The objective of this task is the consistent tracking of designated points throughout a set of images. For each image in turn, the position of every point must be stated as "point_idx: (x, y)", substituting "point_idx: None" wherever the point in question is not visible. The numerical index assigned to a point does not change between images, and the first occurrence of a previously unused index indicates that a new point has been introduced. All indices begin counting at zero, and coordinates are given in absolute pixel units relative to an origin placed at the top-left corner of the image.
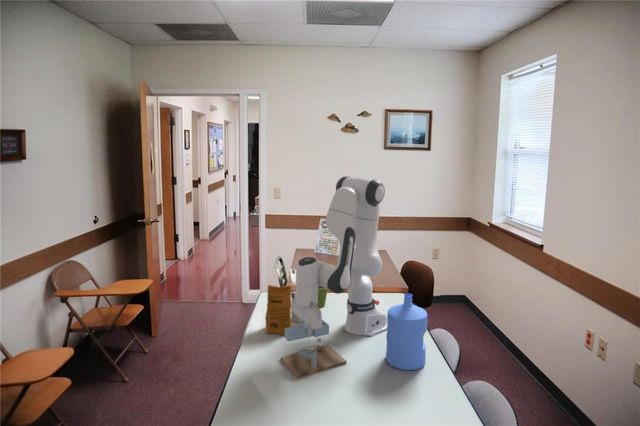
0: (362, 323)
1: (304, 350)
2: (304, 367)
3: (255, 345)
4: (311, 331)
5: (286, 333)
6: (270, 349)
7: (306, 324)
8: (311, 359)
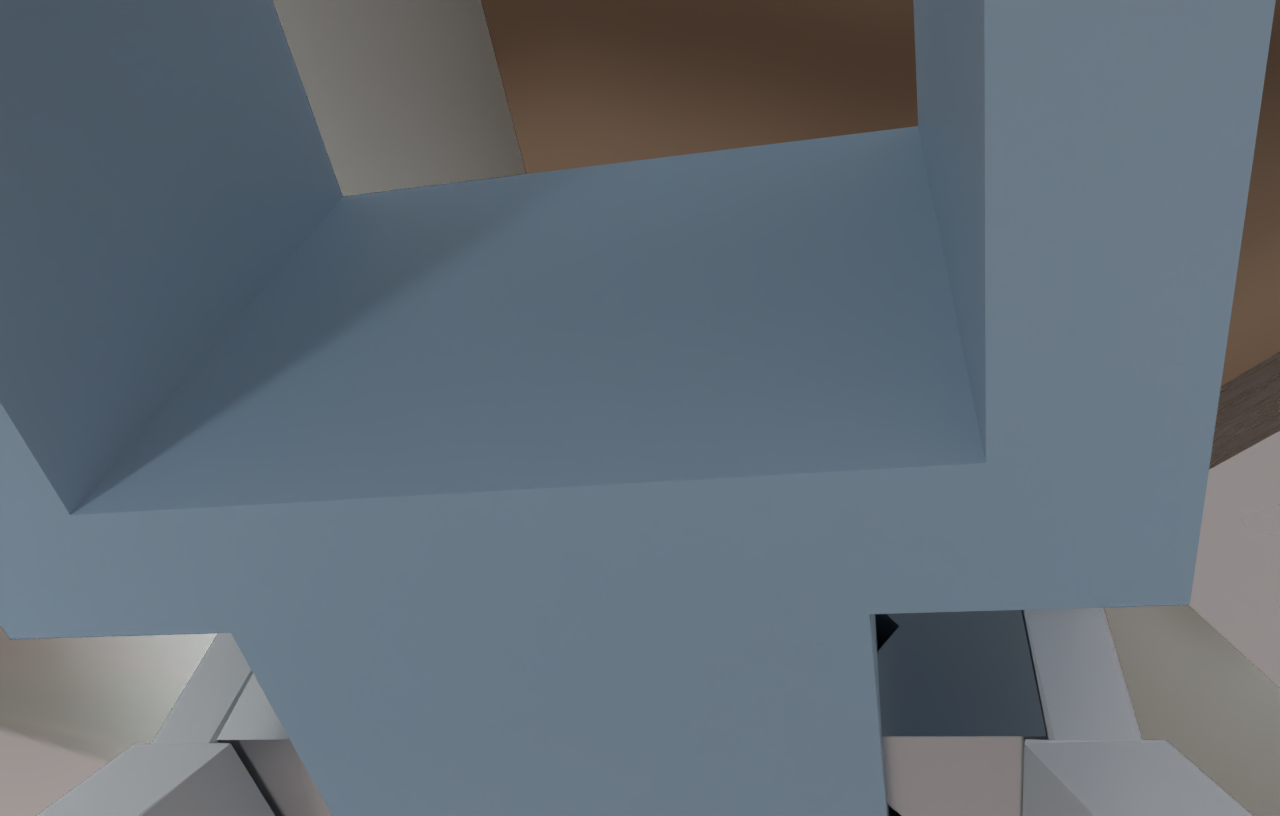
0: None
1: (1218, 535)
2: (1232, 329)
3: (110, 674)
4: (1116, 664)
5: None
6: None
7: (409, 811)
8: None
